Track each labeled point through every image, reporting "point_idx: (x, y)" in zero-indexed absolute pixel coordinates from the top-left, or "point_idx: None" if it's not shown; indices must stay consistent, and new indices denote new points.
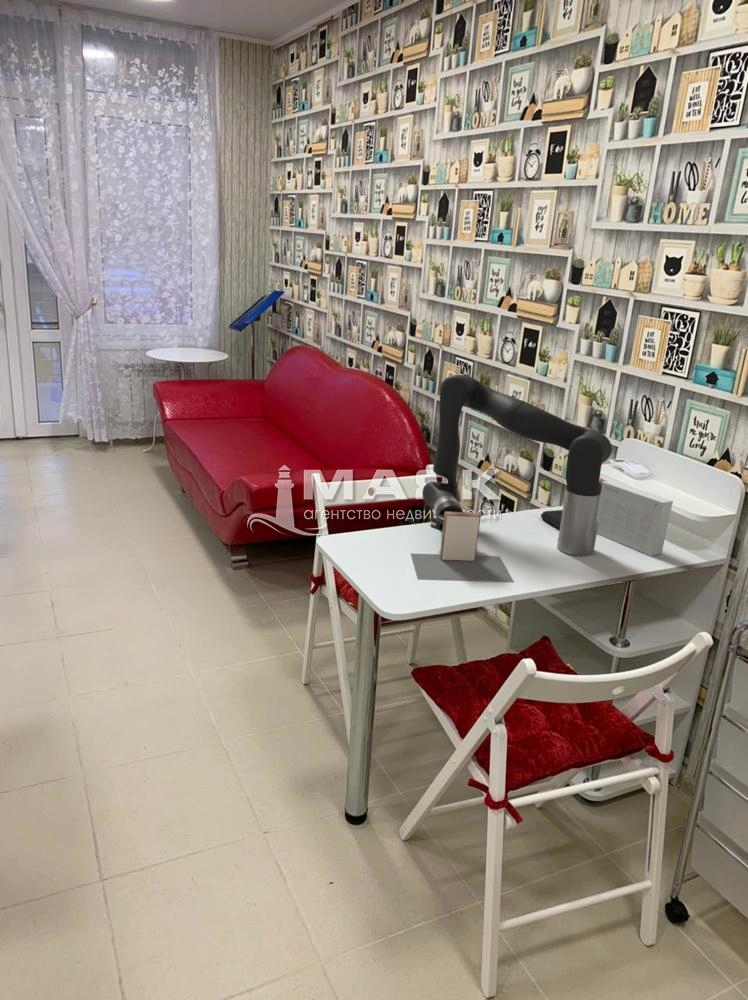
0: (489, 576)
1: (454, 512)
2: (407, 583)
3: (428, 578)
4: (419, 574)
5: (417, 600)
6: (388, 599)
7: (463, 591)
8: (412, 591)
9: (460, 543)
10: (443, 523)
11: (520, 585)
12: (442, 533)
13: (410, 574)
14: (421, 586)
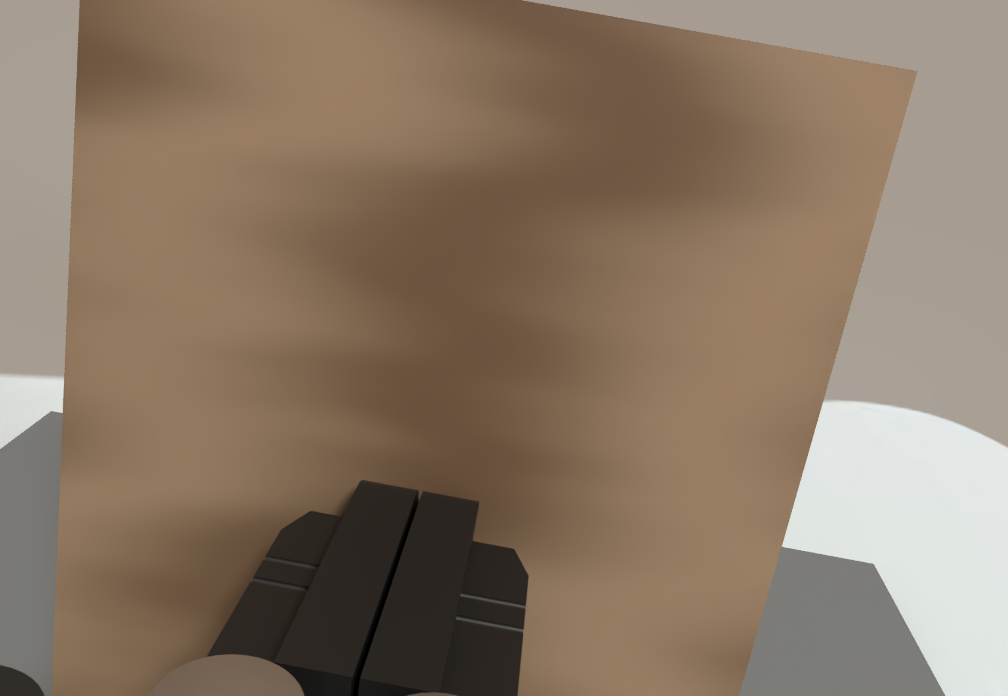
0: None
1: (682, 33)
2: (941, 576)
3: (783, 559)
4: (876, 619)
5: (822, 440)
6: (995, 473)
7: None
8: (874, 501)
9: None
10: (830, 368)
11: (6, 415)
12: (768, 565)
13: (966, 686)
14: (822, 531)
